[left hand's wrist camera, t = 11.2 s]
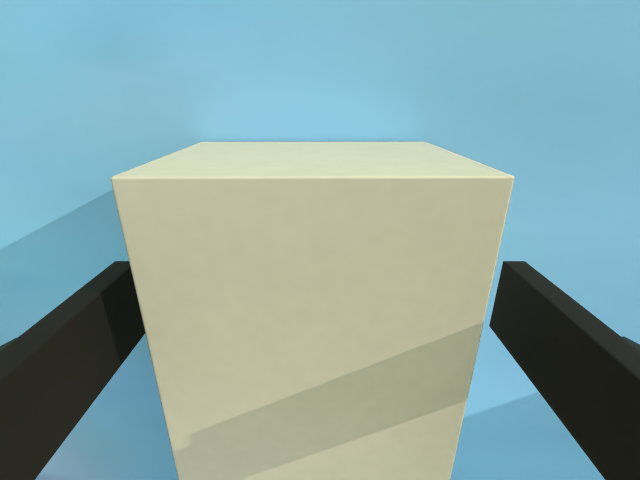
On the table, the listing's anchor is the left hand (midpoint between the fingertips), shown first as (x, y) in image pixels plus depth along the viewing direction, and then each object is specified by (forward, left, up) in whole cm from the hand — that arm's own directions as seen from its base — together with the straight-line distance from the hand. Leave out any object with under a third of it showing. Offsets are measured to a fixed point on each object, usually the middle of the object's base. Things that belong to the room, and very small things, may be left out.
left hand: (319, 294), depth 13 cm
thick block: (+28, 0, -5) cm, 28 cm away
